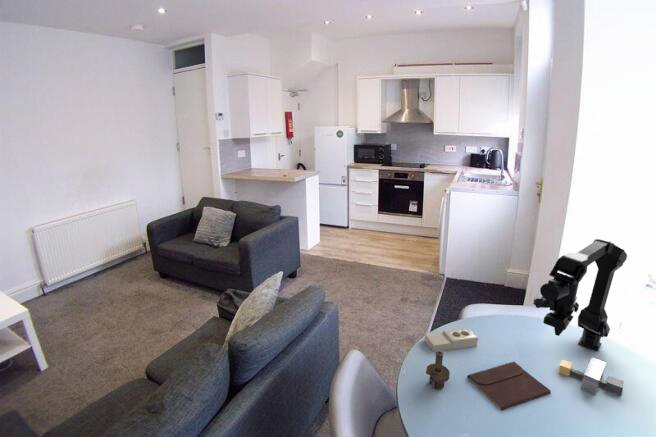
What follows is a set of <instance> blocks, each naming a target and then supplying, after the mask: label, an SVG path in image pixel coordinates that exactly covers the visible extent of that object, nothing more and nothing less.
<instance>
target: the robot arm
mask: <svg viewBox="0 0 656 437" xmlns="http://www.w3.org/2000/svg"><path fill="white" fill-rule="evenodd" d="M627 259H628V254H627V253H626V251H625V250H624V248H621V247H620V246H618V245H615V243H614V242H612V241H610V240H605V239H602V238H595V239H594V240H593V242H592V243H590V244H588V245H587V246H585V247H584V248H582V249H580V250H579V251H578V252H575V253H574V252H573V253H566V254H564V255H562V256H560V257H558V259H557V260H556V262H555V264H554V266H553V268H552V269H551V271H550V273H549V276H550V277H553V279H552V278H550V279H549V280H548V281H547V282H546V283H544V284H543V285H541V287H540V288H539V289H540V290H539V293H540V294H536V296H534V298H533V303H532V304H533V305H535V308H537V309H541V308H544V309H545V308H549V311H550V312H548V313H546V315H545V316H543V322H542V323H543V324H544V325H546V326H550V327H553V328H554V336H557V337H559V336H560V335H561V334H562V333H563V332H564V331H566V329H567V327H568V326H569V324H570V323H571V322H572V320H573V319H574V316H573V313H578V310H579V307H580V304H579V303H578V302H577V300H578V299H577V298H578V297H577V294H578V293H577V292H578V288H579V284H580V282H581V281H582V280H583V278H584V277H585V275H586V274H587V271H588V267H589V265H591V264H593V263H594V262H595V264H596V267H597V272H596V276H595V280H594V284H593V286H592V290H591V294H590V299H589V301H588V304H587V306H586V307H584V308H582V309H581V310H580V312H579V315H578V316H577V327H579V328H581V329H583V330H582V334H581V337H580V339H578V342H577V345H579V346H582V347H585V348H587V349H591V350H593V351H596V352H599V350H600V348H601V346H602V342H601V339H602V338H607V337H608V336H609V333H610V331H611V328H610V326H609V323H608V318H609V316H608V314H607V311H606V310H605V308H606V304H607V300H608V296H609V294H610V293H609V292H610V289H611V285H612V283H613V278H614V275H615V272H616V271H617V270H619V269H620V268H621V267H623V265H624V263H625V262H626V260H627Z"/></svg>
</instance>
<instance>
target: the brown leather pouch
mask: <svg viewBox="0 0 656 437" xmlns="http://www.w3.org/2000/svg"><path fill="white" fill-rule="evenodd" d="M466 377H467V380H469V381H470V382H471V383H472V384H473V385H474V386H475V387H477V388H478V389H479V391H481V392H482V393H483V394H484V396H486V397H487V398H488V399H489V400H490V401H491V402H492V403H494V404H495V406H497V407H498V408H499V410H501V411H504V410H507V409H510V408H513V407H515V406H519V405H522V404H525V403H528V402H530V401H533V400H535V399H540V398H542V397H545V396H548V395H551V394H552V391H551V389H549V388H548V387H547V386H546V385H545V384H543V383H542V382H540V381H539V380H538V379H537V378H535V377H534V376H533V375H531V374H530V373H528V372H527V371H526V370H525V369H523V367H522V366H521V365H519V364H518V363H517V362H515V361H511V362H509V363H508V362H507V363H504V364H501V365H498V366H495V367H490V368H487V369H483V370H481V371H477V372H474V373H470V374H468V375H467V376H466Z"/></svg>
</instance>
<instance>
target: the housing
mask: <svg viewBox="0 0 656 437" xmlns="http://www.w3.org/2000/svg"><path fill="white" fill-rule="evenodd" d="M606 366H607V362H606V361H603V360H601V359H597V358H596V357H594V356H593V357H591V358H590V360H589V362H588V365H587V367H586V369H585V371H584V372H583V373H584V376H583V380H582V382H581V385H580V390H582V391H585V392H587V393H590V394H592V395H594V396H597V395H596V394H597V393H598V390H599V387H600V386H599V382H600V379H602V380H603V376H604V375H605V374H604V372H605V368H606Z"/></svg>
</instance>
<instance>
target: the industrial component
mask: <svg viewBox="0 0 656 437" xmlns="http://www.w3.org/2000/svg"><path fill="white" fill-rule="evenodd" d="M443 358H444V353H443V351H436V352H435V361H434V362H435V363H430V364H428V365H427V366H426V370H425V374H426V375H428V376H429V378H428V381H429V385H430V386H431V387H430V388H431V389H433V390H442V389H444V388H445V383H446V382H448V380H450V374H451V373H450V370H449V368H448V367H446V366H444V364H443V360H444V359H443Z"/></svg>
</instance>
